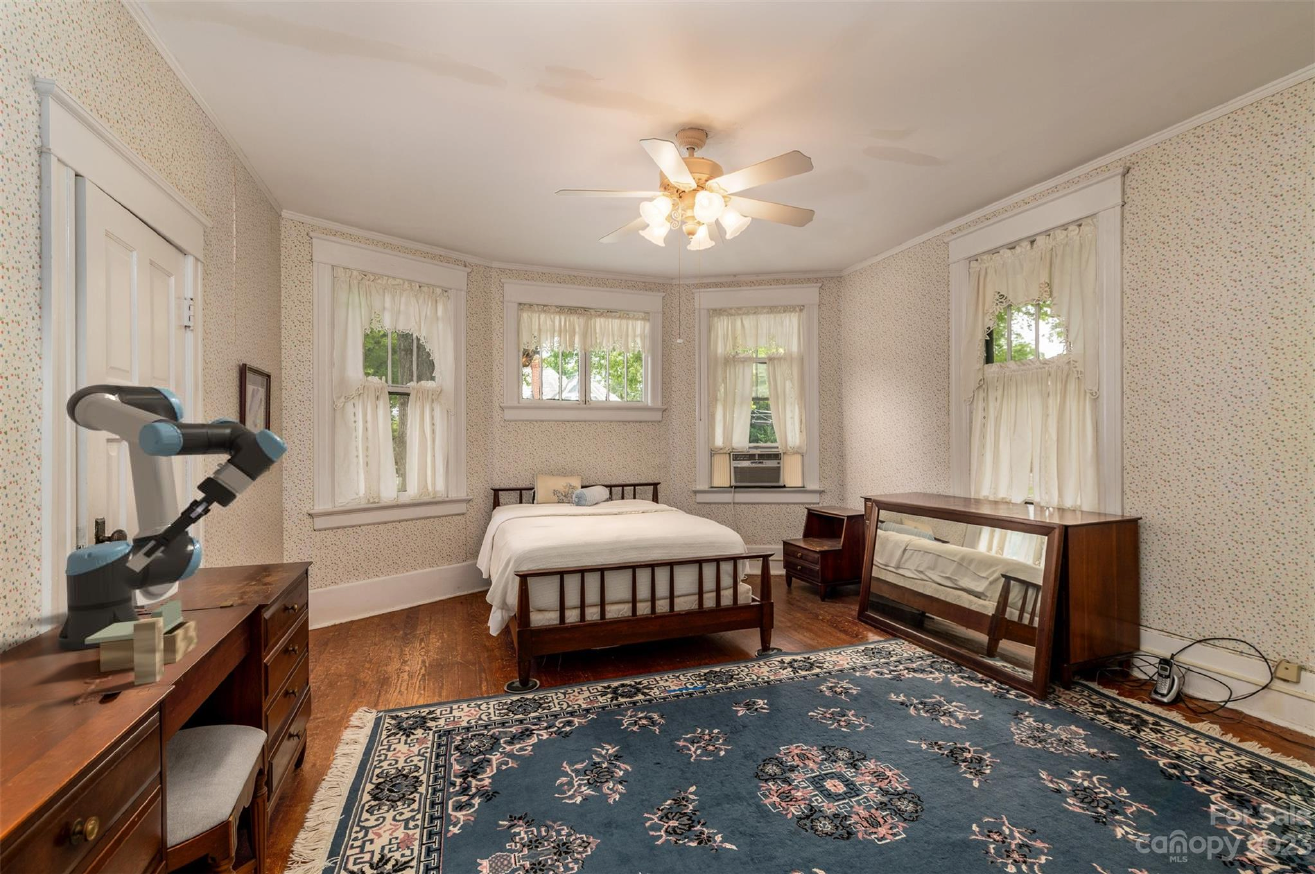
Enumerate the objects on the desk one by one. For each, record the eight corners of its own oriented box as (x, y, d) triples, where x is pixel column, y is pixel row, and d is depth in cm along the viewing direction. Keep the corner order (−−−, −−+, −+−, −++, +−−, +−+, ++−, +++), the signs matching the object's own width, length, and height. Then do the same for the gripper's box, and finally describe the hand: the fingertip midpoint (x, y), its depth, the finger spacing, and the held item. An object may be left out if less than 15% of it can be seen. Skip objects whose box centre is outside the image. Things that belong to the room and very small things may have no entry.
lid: (114, 627, 134) (114, 605, 134) (183, 620, 138) (182, 599, 138) (85, 644, 123) (84, 620, 123) (160, 635, 127) (160, 612, 127)
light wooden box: (128, 653, 135) (128, 626, 135) (197, 644, 139) (196, 619, 139) (100, 671, 123) (100, 643, 123) (175, 662, 128) (175, 634, 128)
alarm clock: (155, 599, 183) (154, 534, 183) (184, 598, 184) (183, 533, 184) (108, 616, 165) (106, 545, 165) (141, 614, 166) (139, 543, 166)
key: (104, 703, 110) (125, 676, 122) (105, 698, 110) (126, 671, 123) (62, 708, 107) (88, 680, 119) (62, 703, 107) (88, 675, 120)
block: (142, 678, 119) (141, 619, 119) (163, 675, 121) (162, 617, 121) (134, 684, 116) (133, 624, 116) (156, 681, 117) (155, 621, 117)
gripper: (209, 474, 141) (117, 554, 131) (211, 475, 131) (112, 561, 121) (237, 494, 145) (150, 573, 134) (240, 496, 135) (147, 582, 124)
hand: (132, 568), depth 127 cm, fingers closed
